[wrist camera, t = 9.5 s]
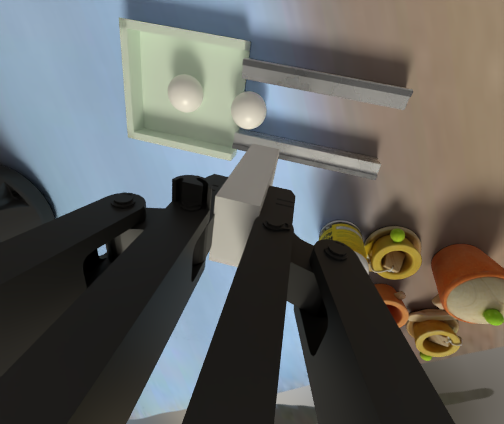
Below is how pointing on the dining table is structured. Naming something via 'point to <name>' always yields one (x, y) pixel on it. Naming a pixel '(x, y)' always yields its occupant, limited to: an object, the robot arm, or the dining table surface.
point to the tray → (169, 66)
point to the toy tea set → (438, 288)
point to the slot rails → (326, 86)
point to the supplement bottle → (346, 238)
